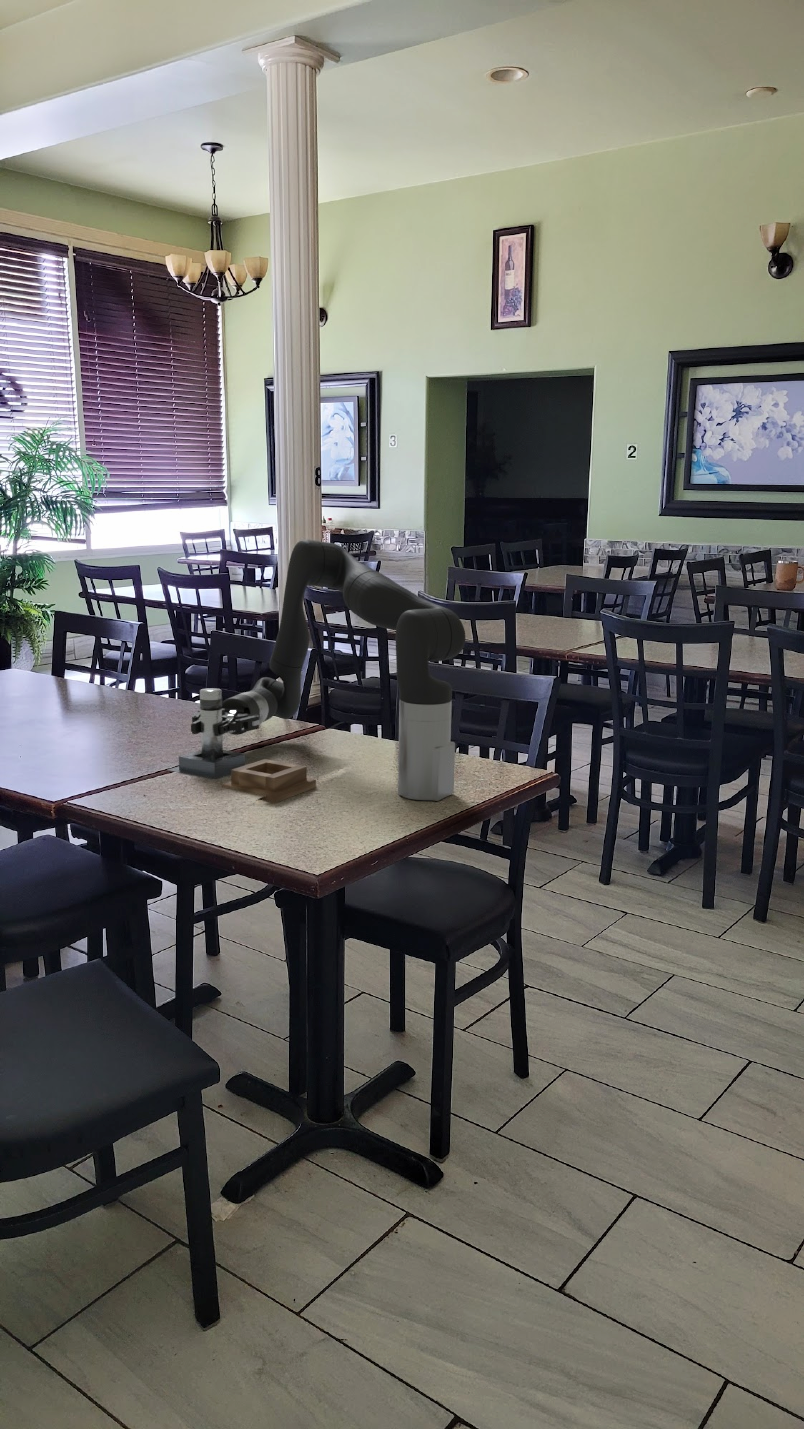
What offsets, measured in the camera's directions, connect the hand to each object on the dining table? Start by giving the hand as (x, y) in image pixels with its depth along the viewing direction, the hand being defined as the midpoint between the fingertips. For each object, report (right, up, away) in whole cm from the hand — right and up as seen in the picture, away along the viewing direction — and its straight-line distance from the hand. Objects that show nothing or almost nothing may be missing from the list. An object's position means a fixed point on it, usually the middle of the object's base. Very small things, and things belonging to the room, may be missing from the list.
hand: (205, 729), depth 194 cm
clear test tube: (+1, -7, +4) cm, 8 cm away
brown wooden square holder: (+13, -11, -6) cm, 18 cm away
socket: (+1, -8, +4) cm, 9 cm away
